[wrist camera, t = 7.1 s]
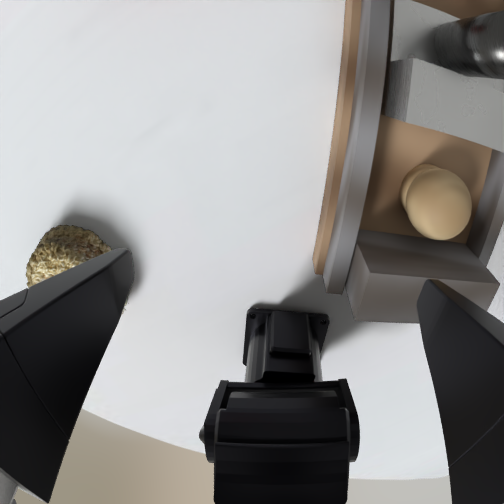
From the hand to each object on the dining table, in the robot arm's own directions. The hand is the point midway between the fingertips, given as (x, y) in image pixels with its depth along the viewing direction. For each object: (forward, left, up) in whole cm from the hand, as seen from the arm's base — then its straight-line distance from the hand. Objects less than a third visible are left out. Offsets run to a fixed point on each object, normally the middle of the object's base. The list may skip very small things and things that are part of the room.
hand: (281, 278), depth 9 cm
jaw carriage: (+8, -9, -10) cm, 16 cm away
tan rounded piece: (0, -9, -10) cm, 13 cm away
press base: (+6, -9, -12) cm, 16 cm away
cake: (-10, +16, -12) cm, 22 cm away
